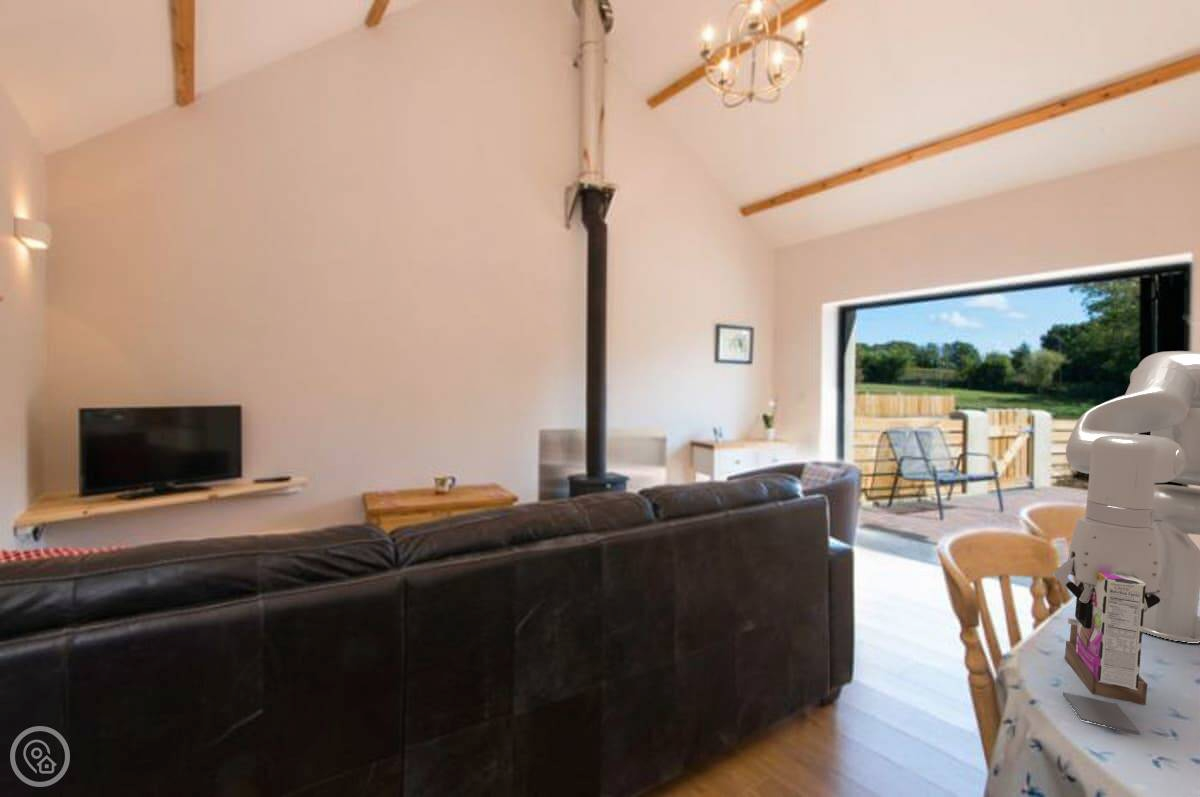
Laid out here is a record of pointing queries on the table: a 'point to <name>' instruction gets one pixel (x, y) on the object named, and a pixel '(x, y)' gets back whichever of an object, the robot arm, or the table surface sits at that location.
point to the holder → (1092, 682)
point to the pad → (1101, 712)
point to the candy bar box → (1114, 631)
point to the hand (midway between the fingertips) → (1106, 628)
